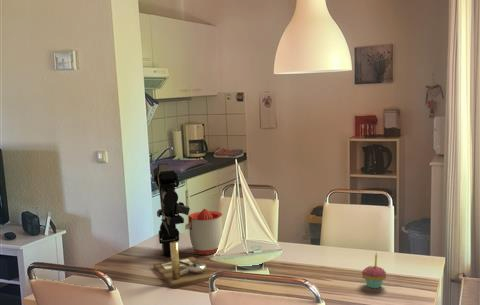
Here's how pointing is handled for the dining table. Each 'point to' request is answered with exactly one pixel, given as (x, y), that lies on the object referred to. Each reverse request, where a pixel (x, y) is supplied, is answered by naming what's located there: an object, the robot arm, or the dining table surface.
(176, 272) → the capstan cam
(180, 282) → the level stand
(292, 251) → the dining table surface
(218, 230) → the citrus juicer
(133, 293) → the dining table surface
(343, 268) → the dining table surface
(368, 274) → the cupcake
